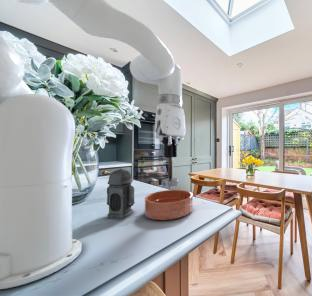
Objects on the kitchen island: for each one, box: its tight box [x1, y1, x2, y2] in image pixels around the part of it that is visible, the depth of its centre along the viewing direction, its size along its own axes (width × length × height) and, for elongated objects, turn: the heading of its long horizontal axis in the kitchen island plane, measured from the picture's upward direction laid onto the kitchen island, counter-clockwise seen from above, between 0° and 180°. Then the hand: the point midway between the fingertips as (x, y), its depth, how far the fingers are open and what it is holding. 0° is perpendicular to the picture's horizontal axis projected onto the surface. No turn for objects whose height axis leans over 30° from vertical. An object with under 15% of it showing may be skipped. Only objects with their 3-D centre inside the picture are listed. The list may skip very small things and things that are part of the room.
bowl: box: [144, 189, 194, 221], centre depth 57 cm, size 15×15×6 cm
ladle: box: [161, 141, 179, 188], centre depth 57 cm, size 5×5×15 cm
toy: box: [106, 168, 135, 220], centre depth 54 cm, size 8×6×15 cm
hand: (170, 156), depth 57 cm, fingers closed on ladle, 1 cm apart
